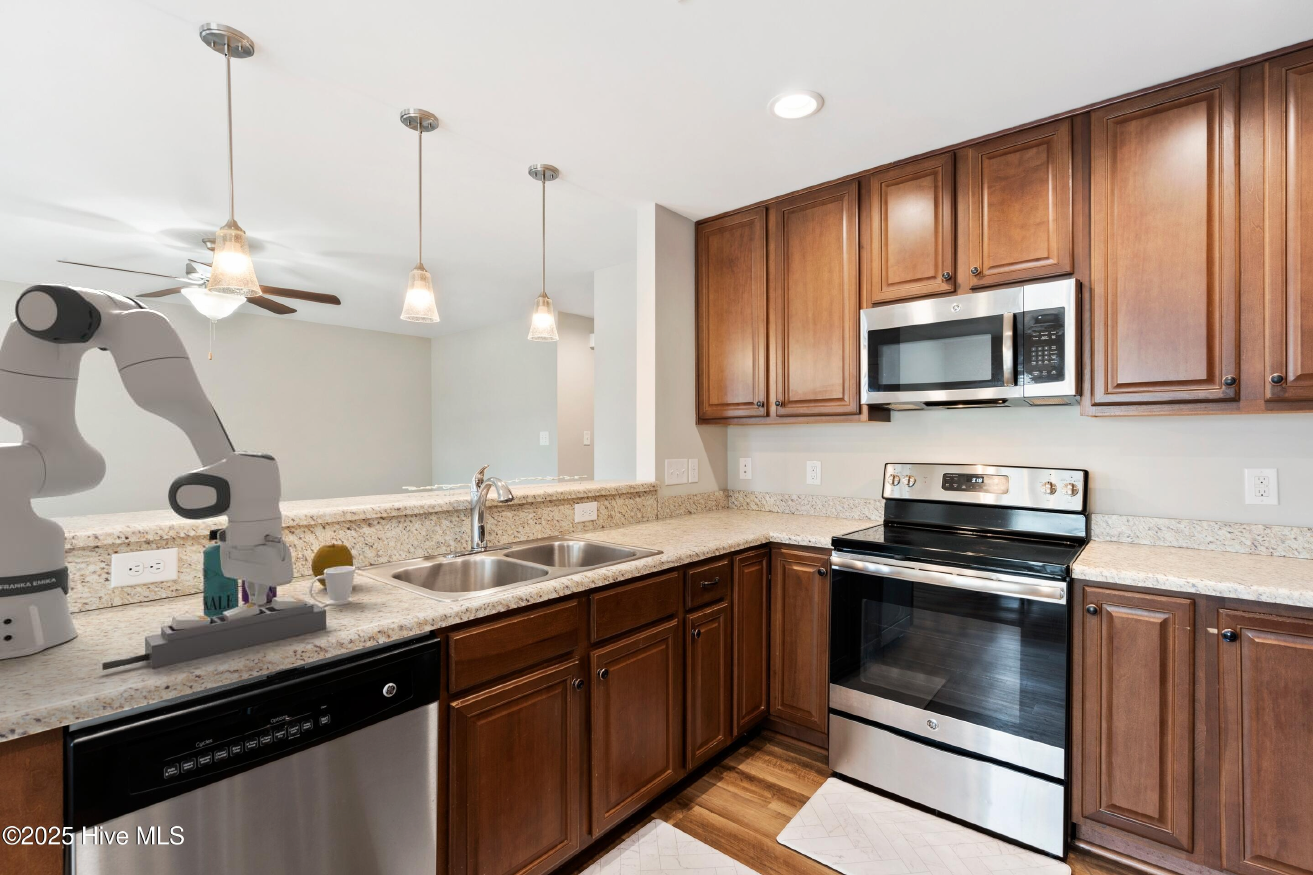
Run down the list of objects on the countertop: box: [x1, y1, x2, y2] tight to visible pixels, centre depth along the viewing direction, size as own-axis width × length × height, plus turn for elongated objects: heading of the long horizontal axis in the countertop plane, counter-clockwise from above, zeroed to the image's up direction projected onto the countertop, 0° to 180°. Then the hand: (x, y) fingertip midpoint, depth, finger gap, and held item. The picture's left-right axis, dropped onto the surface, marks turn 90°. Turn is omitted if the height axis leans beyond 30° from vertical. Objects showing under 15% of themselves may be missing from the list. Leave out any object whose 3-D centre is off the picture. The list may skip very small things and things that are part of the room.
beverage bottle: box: [202, 527, 240, 618], centre depth 131 cm, size 6×7×20 cm
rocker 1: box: [170, 615, 211, 629], centre depth 111 cm, size 5×4×2 cm
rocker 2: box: [223, 603, 260, 621], centre depth 117 cm, size 5×4×2 cm
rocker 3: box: [270, 597, 307, 609], centre depth 123 cm, size 5×4×2 cm
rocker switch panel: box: [101, 599, 327, 671], centre depth 115 cm, size 34×7×5 cm, turn 138°
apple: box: [310, 542, 354, 588], centre depth 159 cm, size 10×10×12 cm
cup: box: [308, 566, 356, 606], centre depth 143 cm, size 7×10×8 cm
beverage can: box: [241, 580, 278, 604], centre depth 146 cm, size 7×7×12 cm
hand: (257, 603), depth 119 cm, fingers closed, pressing on rocker 2
